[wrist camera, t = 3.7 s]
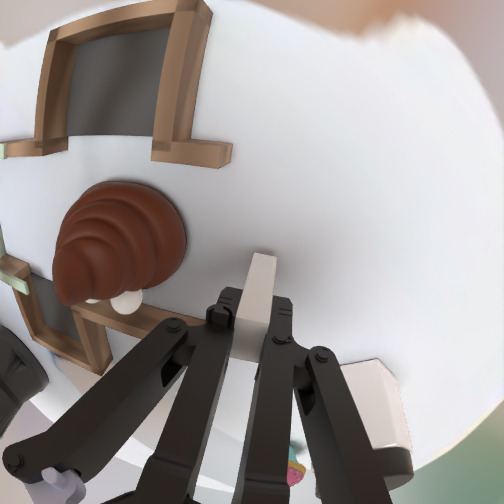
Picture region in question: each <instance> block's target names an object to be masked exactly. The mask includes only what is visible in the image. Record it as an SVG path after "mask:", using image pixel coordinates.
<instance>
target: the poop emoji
mask: <svg viewBox="0 0 504 504" xmlns="http://www.w3.org/2000/svg"><path fill="white" fill-rule="evenodd" d="M185 246H186V238H185V231H184V227H183V223H182V221H181V218H180V216H179V214H178V212H177V211H176V209H175V208H174V206H173V205H172V204H171V203H170V202H169V201H168V200H167V199H166V198H165V197H164V196H163V195H161V194H160V193H158V192H157V191H155V190H153V189H151V188H149V187H146V186H143V185H140V184H135V183H127V182H114V181H106V182H101V183H98V184H96V185H94V186H92V187H90V188H89V189H88V190H86V191H85V192H84V193H83V194H82V195H81V197H80V198H79V199H78V200H77V201H76V202H75V203H74V204H73V205H72V206H71V208H70V209H69V210H68V212H67V213H66V215H65V217H64V219H63V221H62V224H61V227H60V232H59V235H58V238H57V242H56V251H55V256H54V259H53V265H52V275H53V283H54V288H55V292H56V295H57V297H58V299H59V301H60V302H61V303H62V304H63V305H65V306H72V305H76V304H80V303H82V302H87V303H92V304H95V303H98V302H100V301H101V300H108V299H110V301H111V305H112V307H113V308H114V310H115V311H117V312H118V313H120V314H131V313H133V312H134V311H136V310H137V309H138V308H139V306H140V305H141V302H142V299H143V291H142V290H143V289H147V288H151V287H153V286H156V285H158V284H160V283H162V282H164V281H165V280H167V279H168V278H169V277H171V276H172V275H173V274H174V273H175V271H176V270H177V269H178V267H179V266H180V264H181V262H182V259H183V257H184V253H185Z"/></svg>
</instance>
